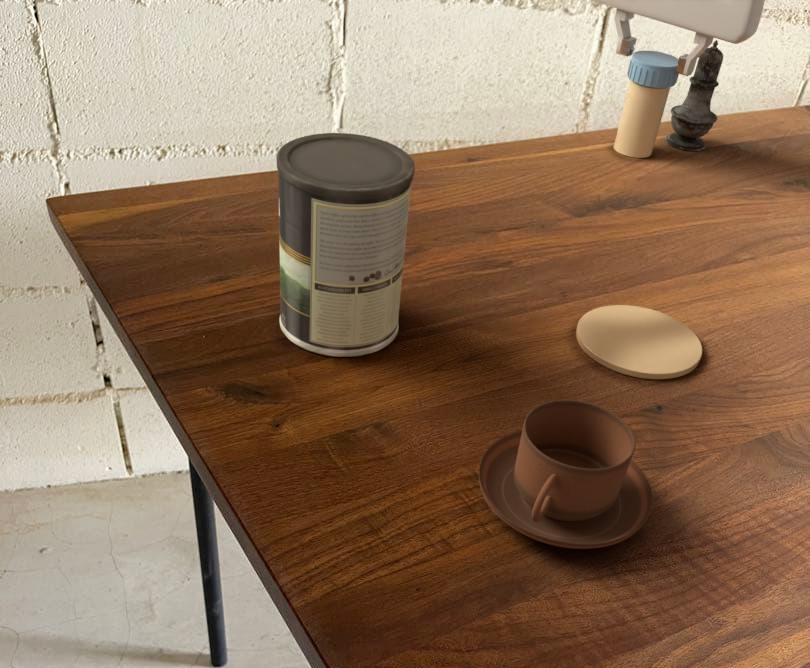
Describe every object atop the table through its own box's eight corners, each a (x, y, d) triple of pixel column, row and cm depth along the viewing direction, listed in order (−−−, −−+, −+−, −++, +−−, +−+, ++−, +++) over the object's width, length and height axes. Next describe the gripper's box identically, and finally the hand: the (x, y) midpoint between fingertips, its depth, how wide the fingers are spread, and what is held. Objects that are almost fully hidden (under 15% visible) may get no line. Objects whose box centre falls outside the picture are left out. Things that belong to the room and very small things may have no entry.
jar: (658, 151, 111) (683, 64, 104) (640, 161, 108) (664, 73, 101) (625, 139, 113) (646, 53, 106) (606, 148, 110) (627, 61, 103)
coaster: (720, 344, 79) (723, 338, 79) (665, 396, 73) (667, 389, 72) (613, 297, 83) (615, 291, 83) (552, 342, 77) (553, 335, 76)
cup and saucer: (646, 580, 57) (675, 510, 53) (464, 545, 58) (478, 474, 54) (643, 464, 66) (668, 396, 62) (484, 435, 67) (498, 366, 62)
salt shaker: (655, 142, 113) (684, 38, 104) (672, 130, 116) (702, 29, 108) (698, 156, 111) (731, 51, 102) (714, 143, 114) (748, 41, 106)
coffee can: (255, 333, 74) (249, 163, 64) (317, 282, 81) (320, 121, 71) (364, 372, 71) (375, 201, 61) (419, 316, 78) (437, 154, 68)
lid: (684, 81, 105) (690, 60, 103) (662, 92, 102) (668, 70, 100) (641, 68, 107) (646, 47, 106) (618, 77, 104) (623, 56, 102)
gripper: (795, -58, 91) (746, 84, 101) (622, -101, 99) (592, 35, 109) (773, -52, 88) (724, 96, 97) (595, -96, 95) (566, 44, 105)
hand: (653, 64), depth 103 cm, fingers open, 6 cm apart
